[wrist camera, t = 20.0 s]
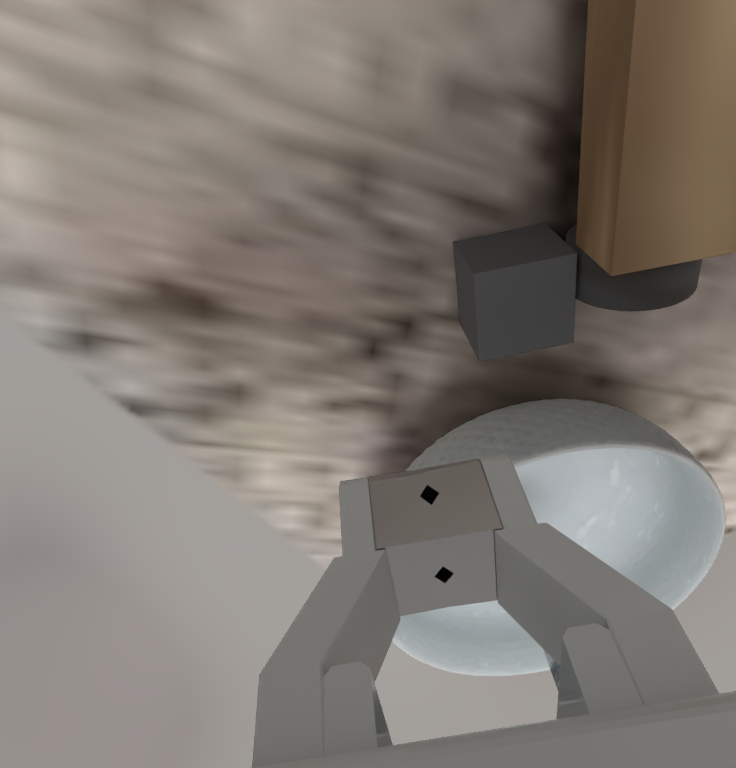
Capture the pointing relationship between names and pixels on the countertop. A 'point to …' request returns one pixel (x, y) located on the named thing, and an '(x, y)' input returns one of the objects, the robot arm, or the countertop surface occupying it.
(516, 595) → the robot arm
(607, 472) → the cereal bowl
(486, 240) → the dark grey cube
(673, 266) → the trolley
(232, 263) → the countertop surface
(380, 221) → the countertop surface
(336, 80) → the countertop surface
